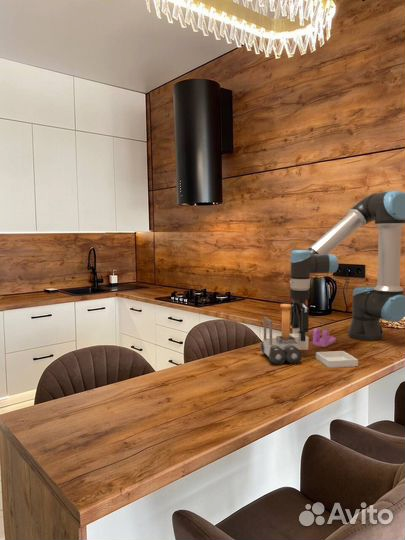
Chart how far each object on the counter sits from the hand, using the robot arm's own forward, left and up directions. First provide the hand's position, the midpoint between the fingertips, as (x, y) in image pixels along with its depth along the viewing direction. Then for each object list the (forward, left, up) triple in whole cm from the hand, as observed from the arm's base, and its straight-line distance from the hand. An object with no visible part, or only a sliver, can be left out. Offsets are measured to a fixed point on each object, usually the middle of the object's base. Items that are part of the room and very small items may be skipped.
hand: (298, 346), depth 166 cm
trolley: (+9, +6, -3) cm, 11 cm away
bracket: (-17, -14, -3) cm, 23 cm away
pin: (+7, +6, +4) cm, 10 cm away
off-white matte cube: (0, 0, 0) cm, 1 cm away
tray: (-10, +13, -3) cm, 17 cm away
